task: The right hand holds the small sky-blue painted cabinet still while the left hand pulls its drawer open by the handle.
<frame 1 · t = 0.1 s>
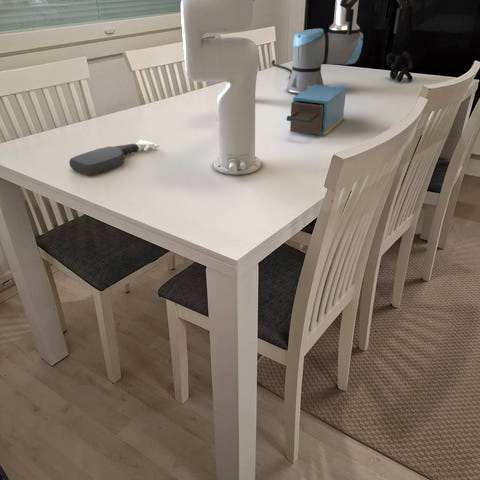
left hand: (232, 18, 141), 31 cm above the table, tool pointing down, fingers open, 9 cm apart
right hand: (372, 34, 130), 28 cm above the table, tool pointing down, fingers open, 13 cm apart
squiggle: (399, 80, 200), on the table
drawer: (312, 114, 141), point 5 cm above the table, slide at 1.4 cm
spray bottle: (117, 159, 125), on the table
cabinet: (318, 125, 148), on the table
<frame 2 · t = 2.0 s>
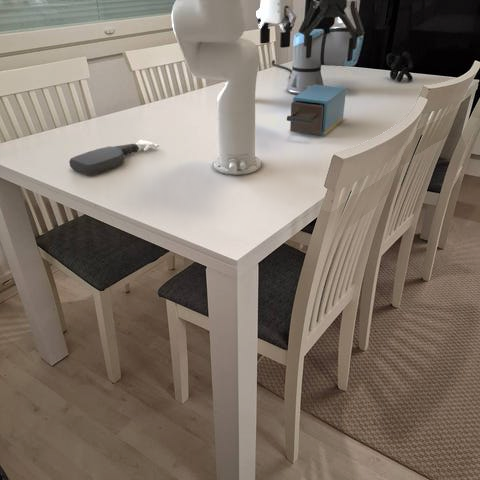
left hand: (274, 45, 131), 25 cm above the table, tool pointing down, fingers open, 9 cm apart
right hand: (328, 59, 141), 20 cm above the table, tool pointing down, fingers open, 13 cm apart
nothing on the table moved.
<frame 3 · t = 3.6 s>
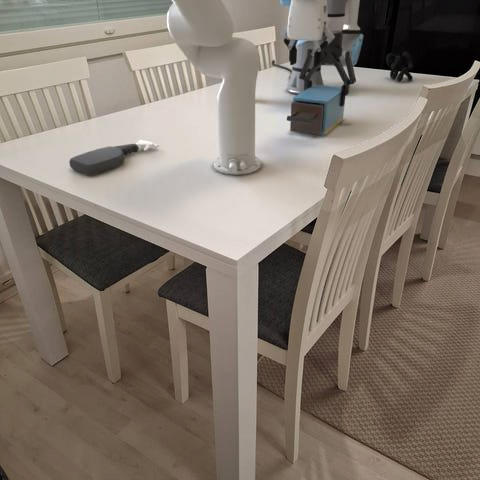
left hand: (304, 64, 125), 22 cm above the table, tool pointing down, fingers open, 6 cm apart
right hand: (324, 103, 149), 6 cm above the table, tool pointing down, fingers closed on cabinet, 11 cm apart
cabinet: (318, 125, 148), on the table, touching right hand
everything else where it was.
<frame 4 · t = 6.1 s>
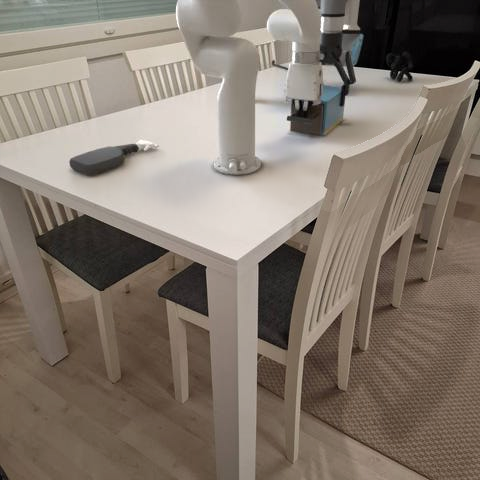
left hand: (302, 122, 134), 5 cm above the table, tool pointing down, fingers closed
right hand: (324, 103, 149), 6 cm above the table, tool pointing down, fingers closed on cabinet, 11 cm apart
drawer: (312, 114, 141), point 5 cm above the table, slide at 1.4 cm, touching left hand
cabinet: (318, 125, 148), on the table, touching right hand
everything else where it was.
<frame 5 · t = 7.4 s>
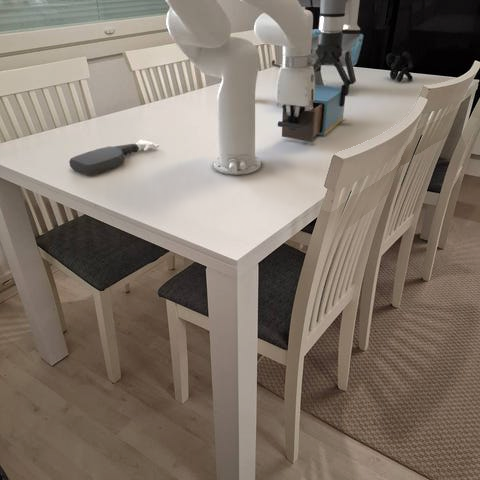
left hand: (293, 128, 129), 5 cm above the table, tool pointing down, fingers closed
right hand: (324, 103, 149), 6 cm above the table, tool pointing down, fingers closed on cabinet, 11 cm apart
drawer: (304, 119, 136), point 5 cm above the table, slide at 7.8 cm, touching left hand
cabinet: (317, 125, 148), on the table, touching right hand
everything else where it was.
when the right hand's fingers open (6 cm above the table, at t = 9.4 s): cabinet stays where it is, on the table.
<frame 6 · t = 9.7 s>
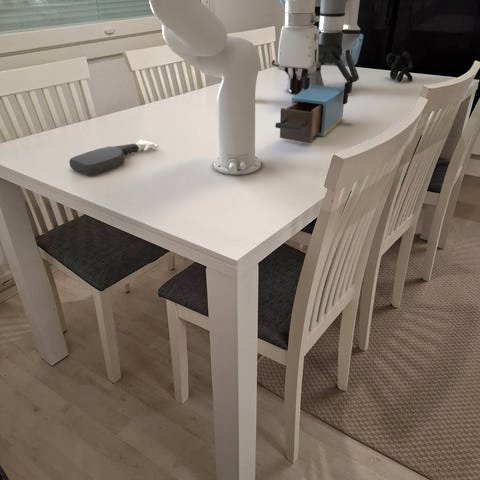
left hand: (295, 93, 124), 15 cm above the table, tool pointing down, fingers closed
right hand: (325, 101, 148), 7 cm above the table, tool pointing down, fingers open, 13 cm apart
drawer: (302, 120, 135), point 5 cm above the table, slide at 8.3 cm
cabinet: (317, 125, 148), on the table
everything else where it was.
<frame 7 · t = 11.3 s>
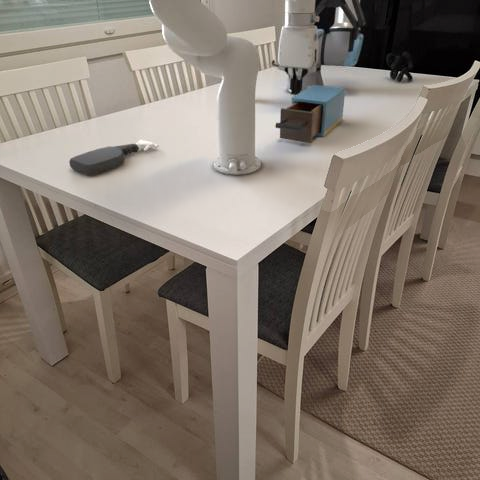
left hand: (295, 93, 124), 15 cm above the table, tool pointing down, fingers closed
right hand: (329, 50, 140), 22 cm above the table, tool pointing down, fingers open, 13 cm apart
nothing on the table moved.
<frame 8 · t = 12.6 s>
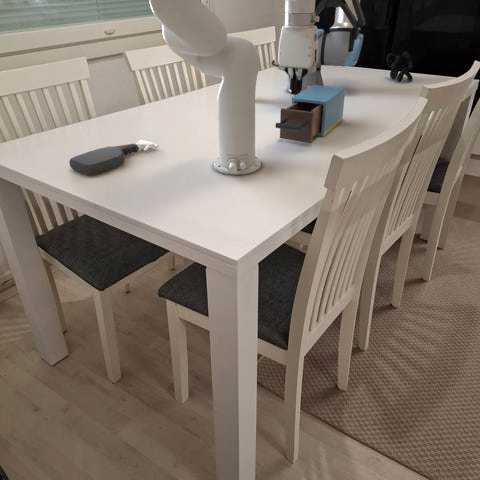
left hand: (295, 93, 124), 15 cm above the table, tool pointing down, fingers closed
right hand: (329, 50, 140), 22 cm above the table, tool pointing down, fingers open, 13 cm apart
nothing on the table moved.
at the end: drawer slide at 8.3 cm; cabinet tilted 0°; cabinet never tilted more than 3° during the clip; cabinet moved 0.7 cm from its start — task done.
